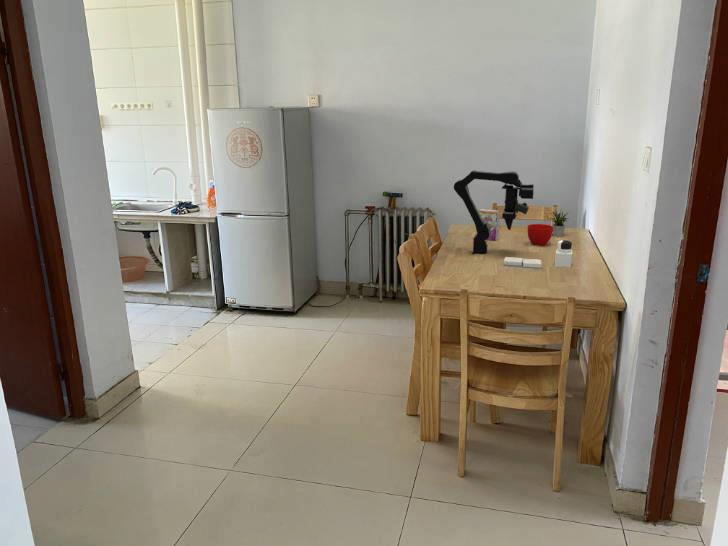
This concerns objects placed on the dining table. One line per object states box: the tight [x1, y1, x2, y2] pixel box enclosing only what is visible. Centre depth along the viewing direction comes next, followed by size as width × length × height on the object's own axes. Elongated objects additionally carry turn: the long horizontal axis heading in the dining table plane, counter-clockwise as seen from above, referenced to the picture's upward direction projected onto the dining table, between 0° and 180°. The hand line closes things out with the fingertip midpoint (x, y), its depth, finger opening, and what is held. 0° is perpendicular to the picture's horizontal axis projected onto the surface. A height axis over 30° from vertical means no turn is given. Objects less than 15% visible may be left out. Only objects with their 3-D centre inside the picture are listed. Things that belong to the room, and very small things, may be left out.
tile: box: [503, 256, 524, 267], centre depth 267 cm, size 8×2×8 cm
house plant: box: [547, 207, 571, 238], centre depth 325 cm, size 14×14×16 cm
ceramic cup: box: [527, 223, 553, 247], centre depth 306 cm, size 13×17×10 cm
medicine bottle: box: [554, 239, 573, 269], centre depth 263 cm, size 7×7×12 cm
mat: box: [503, 263, 541, 270], centre depth 268 cm, size 16×16×1 cm
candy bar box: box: [477, 208, 501, 242], centre depth 318 cm, size 11×5×16 cm, turn 58°
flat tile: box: [523, 258, 543, 269], centre depth 263 cm, size 8×8×2 cm
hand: (509, 229), depth 281 cm, fingers closed
